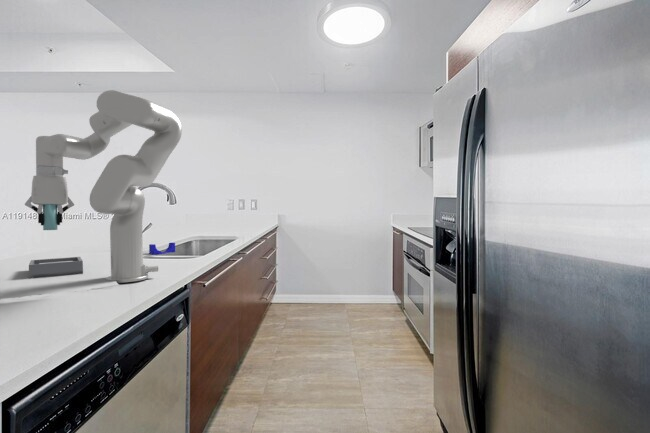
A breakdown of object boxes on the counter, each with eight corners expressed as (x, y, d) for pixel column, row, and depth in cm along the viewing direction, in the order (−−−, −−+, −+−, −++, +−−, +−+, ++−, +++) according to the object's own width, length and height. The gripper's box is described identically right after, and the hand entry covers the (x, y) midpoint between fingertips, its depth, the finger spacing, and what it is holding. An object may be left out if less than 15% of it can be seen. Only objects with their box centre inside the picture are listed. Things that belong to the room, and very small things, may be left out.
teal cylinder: (57, 229, 132) (57, 204, 132) (57, 229, 129) (57, 204, 129) (43, 229, 130) (42, 204, 129) (43, 230, 126) (42, 203, 126)
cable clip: (154, 257, 179) (154, 244, 179) (149, 256, 182) (149, 244, 182) (176, 254, 189) (176, 242, 189) (171, 254, 191) (171, 242, 191)
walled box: (80, 268, 145) (80, 256, 145) (82, 273, 132) (82, 260, 132) (31, 272, 136) (31, 260, 136) (29, 278, 123) (28, 265, 123)
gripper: (77, 174, 137) (78, 224, 137) (18, 171, 127) (19, 225, 127) (79, 173, 131) (80, 225, 131) (18, 170, 121) (19, 226, 121)
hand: (50, 224), depth 129 cm, fingers closed on teal cylinder, 4 cm apart
